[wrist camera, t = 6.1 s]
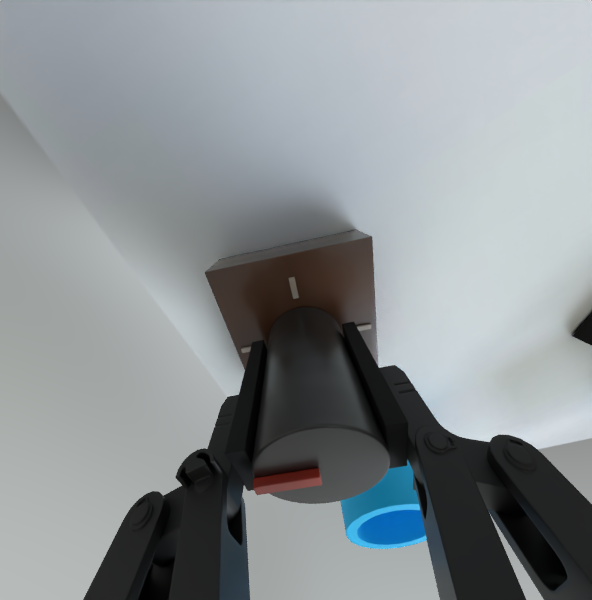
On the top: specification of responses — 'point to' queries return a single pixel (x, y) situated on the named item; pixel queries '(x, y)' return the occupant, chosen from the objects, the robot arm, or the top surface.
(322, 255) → the dimmer panel
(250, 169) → the top surface
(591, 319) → the vhs tape
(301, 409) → the dimmer
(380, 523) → the mug
